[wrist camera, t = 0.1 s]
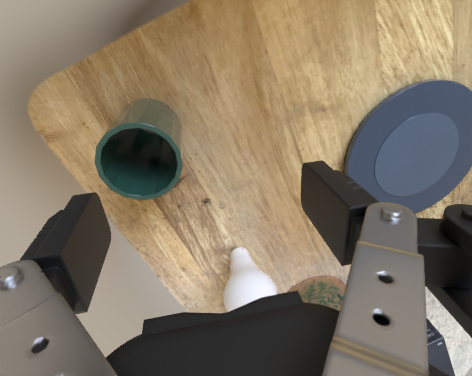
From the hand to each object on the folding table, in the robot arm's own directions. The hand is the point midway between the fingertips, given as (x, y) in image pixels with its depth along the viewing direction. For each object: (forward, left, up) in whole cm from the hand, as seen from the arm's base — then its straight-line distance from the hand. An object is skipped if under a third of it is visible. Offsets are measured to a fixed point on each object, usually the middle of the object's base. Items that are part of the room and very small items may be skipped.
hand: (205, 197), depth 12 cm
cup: (+3, -5, -21) cm, 21 cm away
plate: (+10, +26, -21) cm, 35 cm away
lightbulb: (+21, +3, -21) cm, 30 cm away
